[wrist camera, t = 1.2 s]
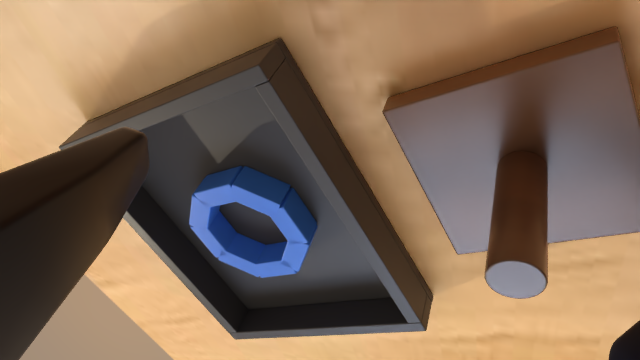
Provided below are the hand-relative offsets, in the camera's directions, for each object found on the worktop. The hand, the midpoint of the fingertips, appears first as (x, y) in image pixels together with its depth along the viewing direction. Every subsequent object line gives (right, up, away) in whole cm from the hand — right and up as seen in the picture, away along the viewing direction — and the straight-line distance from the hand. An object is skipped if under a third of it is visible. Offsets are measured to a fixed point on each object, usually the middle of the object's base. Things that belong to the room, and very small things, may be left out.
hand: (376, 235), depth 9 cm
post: (+8, +2, +14) cm, 16 cm away
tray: (-4, -1, +22) cm, 22 cm away
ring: (-5, -1, +21) cm, 22 cm away
